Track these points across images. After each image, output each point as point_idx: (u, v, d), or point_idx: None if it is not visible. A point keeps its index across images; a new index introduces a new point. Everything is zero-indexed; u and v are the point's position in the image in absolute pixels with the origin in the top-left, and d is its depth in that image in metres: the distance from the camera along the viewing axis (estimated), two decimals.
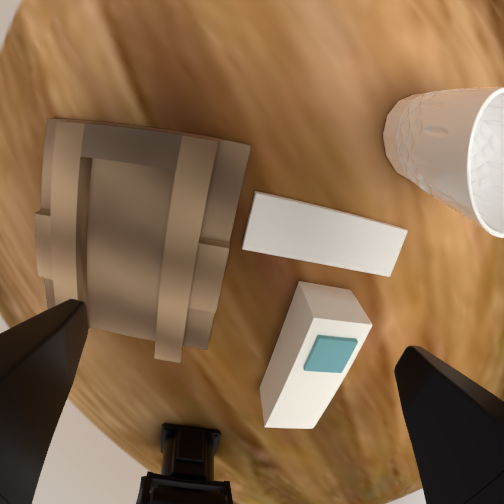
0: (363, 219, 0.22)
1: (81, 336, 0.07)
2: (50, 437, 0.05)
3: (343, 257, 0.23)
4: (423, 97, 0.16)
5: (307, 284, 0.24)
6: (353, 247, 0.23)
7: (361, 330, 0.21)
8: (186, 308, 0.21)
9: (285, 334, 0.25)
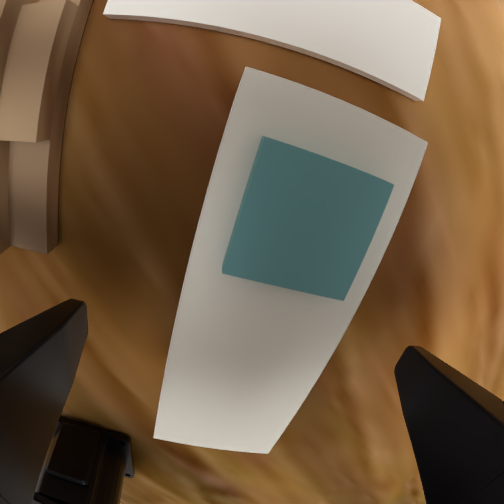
0: None
1: (81, 336, 0.07)
2: (50, 437, 0.05)
3: (317, 31, 0.09)
4: None
5: None
6: (337, 15, 0.08)
7: (399, 153, 0.07)
8: None
9: (201, 210, 0.10)
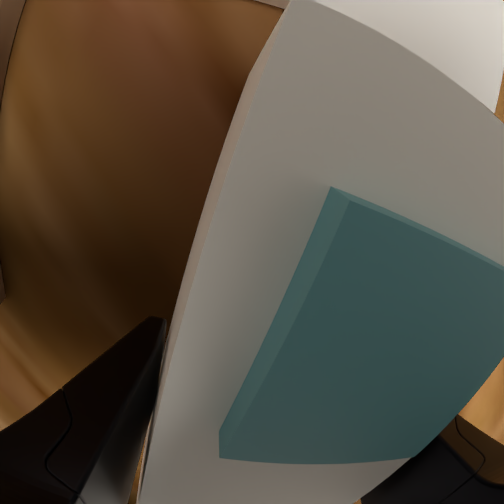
0: None
1: (161, 354, 0.07)
2: (138, 461, 0.05)
3: None
4: None
5: None
6: None
7: None
8: None
9: (185, 273, 0.07)
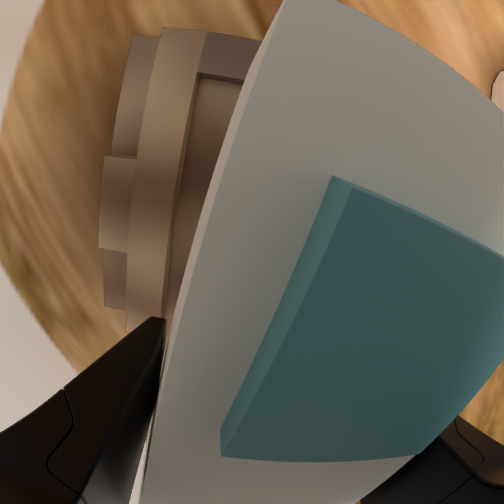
0: None
1: (162, 354, 0.07)
2: (138, 461, 0.05)
3: None
4: None
5: None
6: None
7: None
8: None
9: None
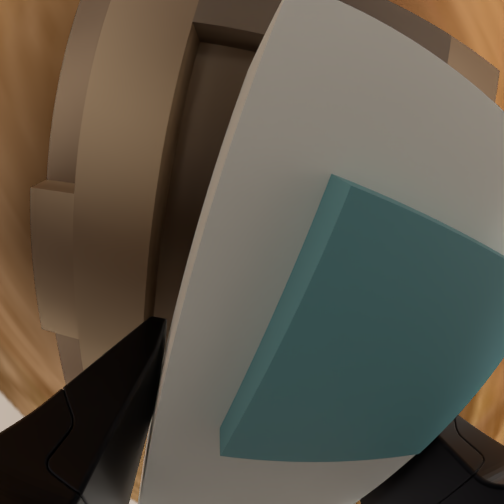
0: None
1: (162, 354, 0.07)
2: (139, 461, 0.05)
3: None
4: None
5: None
6: None
7: None
8: None
9: (185, 270, 0.06)
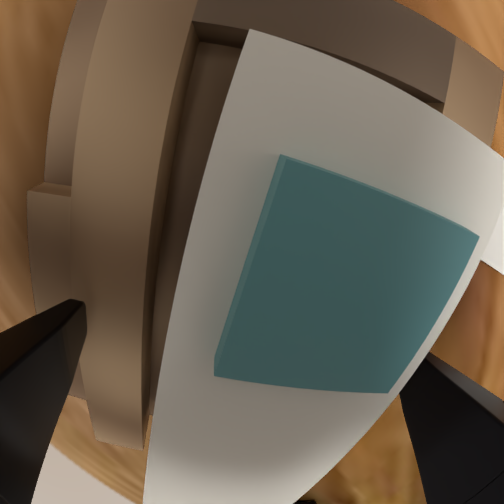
0: None
1: (80, 336, 0.07)
2: (50, 437, 0.05)
3: None
4: None
5: None
6: None
7: (484, 185, 0.04)
8: None
9: None
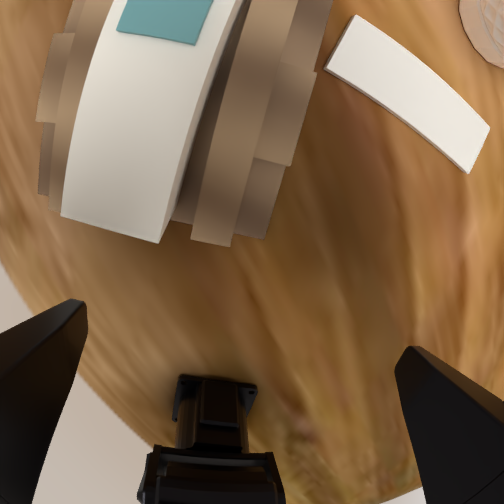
0: (454, 92, 0.15)
1: (81, 336, 0.07)
2: (50, 437, 0.05)
3: (431, 125, 0.16)
4: None
5: None
6: (442, 118, 0.16)
7: None
8: (254, 146, 0.14)
9: None
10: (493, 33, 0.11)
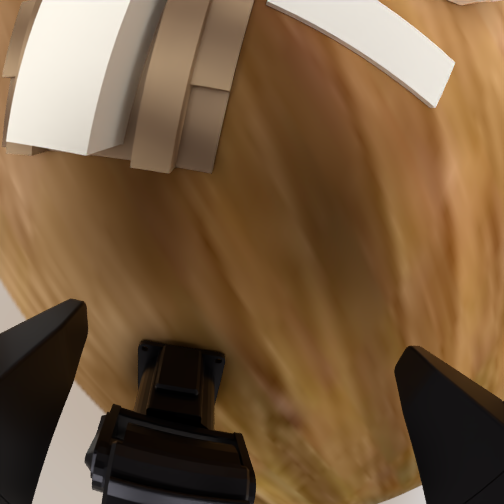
0: (409, 24, 0.14)
1: (81, 336, 0.07)
2: (50, 437, 0.05)
3: (385, 54, 0.15)
4: None
5: None
6: (397, 48, 0.15)
7: None
8: (188, 68, 0.13)
9: None
10: None
